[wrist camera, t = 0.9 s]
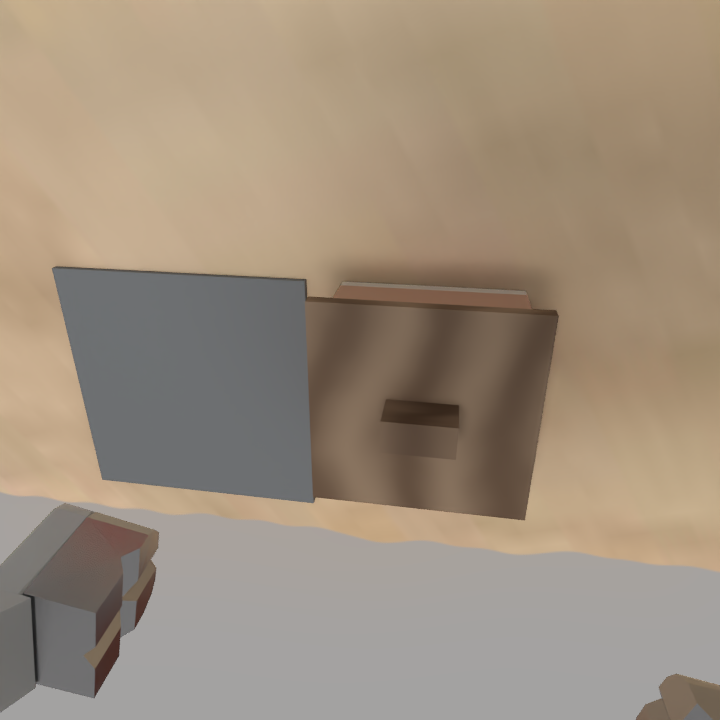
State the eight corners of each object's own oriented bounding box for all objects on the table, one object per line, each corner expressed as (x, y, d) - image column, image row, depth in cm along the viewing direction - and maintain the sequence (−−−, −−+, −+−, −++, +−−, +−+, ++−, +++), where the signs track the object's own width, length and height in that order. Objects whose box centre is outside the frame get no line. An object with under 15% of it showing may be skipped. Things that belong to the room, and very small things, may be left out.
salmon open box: (525, 290, 42) (537, 324, 35) (504, 446, 48) (511, 499, 41) (343, 281, 44) (323, 311, 37) (344, 432, 50) (327, 479, 43)
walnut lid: (556, 310, 35) (567, 334, 31) (523, 511, 42) (529, 549, 38) (308, 296, 37) (292, 317, 33) (315, 488, 44) (303, 523, 40)
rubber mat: (306, 279, 44) (304, 281, 44) (314, 499, 53) (313, 503, 53) (55, 266, 47) (52, 268, 47) (105, 476, 57) (102, 479, 56)
